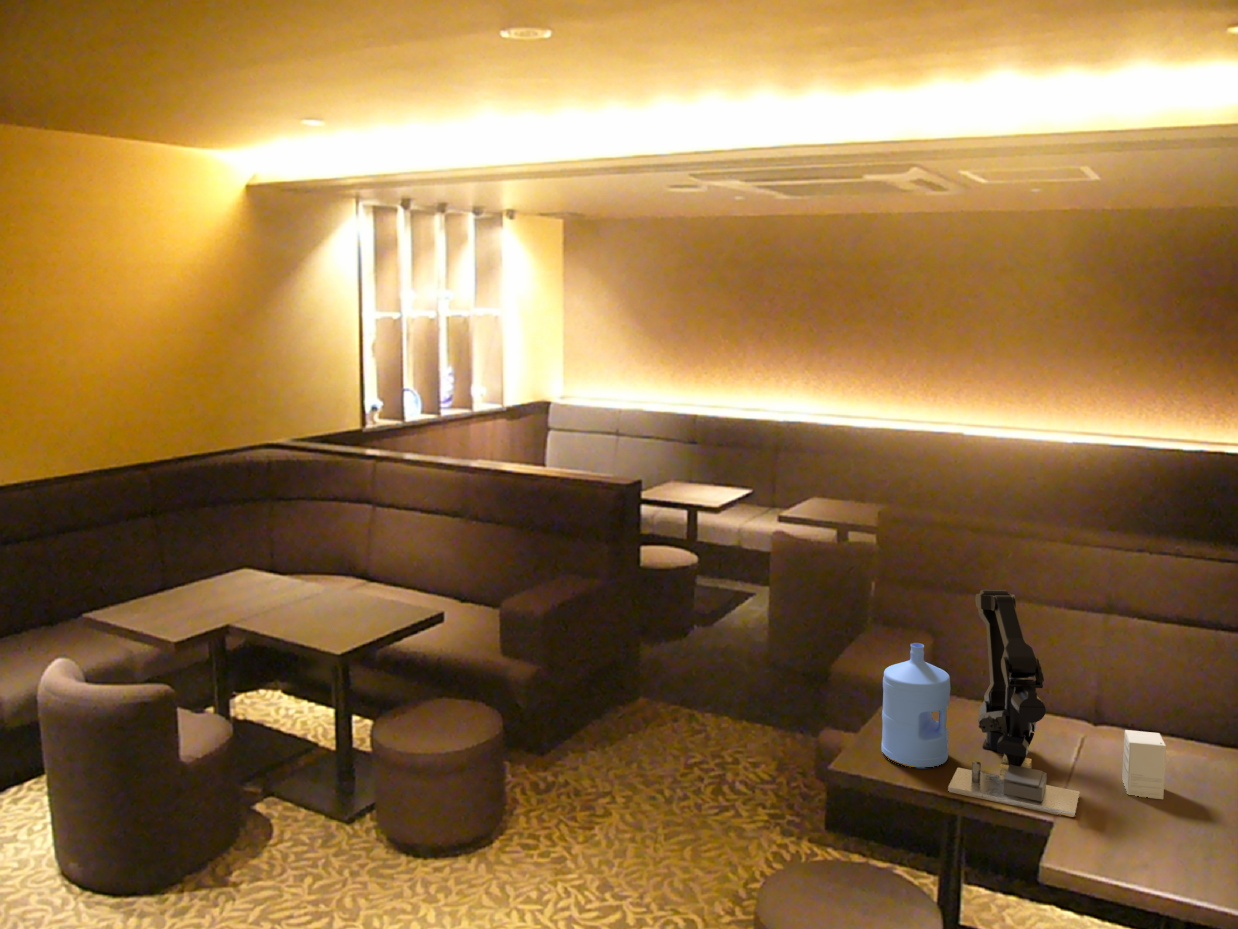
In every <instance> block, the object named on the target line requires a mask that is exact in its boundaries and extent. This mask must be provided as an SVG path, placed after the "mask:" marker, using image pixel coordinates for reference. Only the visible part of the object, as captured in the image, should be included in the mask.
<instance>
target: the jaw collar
mask: <svg viewBox="0 0 1238 929" xmlns="http://www.w3.org/2000/svg"><path fill="white" fill-rule="evenodd" d="M1032 761H1033V760H1032V758H1028V757H1026V758H1025V760H1024V762H1023V763H1022V765H1021V767H1025V768H1030V769H1032ZM1008 767H1009V764H1008V760H1007V756H1006V755H1005V754H1004V753H1003V757H1002V759H1001V761H1000V767H999V768H1000V769H999V776H1004V777H1005V775H1006V773H1007V770H1008Z"/></svg>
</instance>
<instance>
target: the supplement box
mask: <svg viewBox="0 0 1238 929" xmlns="http://www.w3.org/2000/svg"><path fill="white" fill-rule="evenodd" d="M1123 737H1124V741H1123V760H1122V761H1123V762H1122V776H1121V777H1122V780H1123V781H1122V780H1121V781H1122V784H1123V783H1124V784H1123V786H1125V787H1124V789H1126V790H1125V792H1126V791H1127V792H1126V795H1127V794H1129V795H1135V796H1134V797H1137V796H1139V797H1138V798H1146V797H1148V798H1149V799H1156V800H1164V796H1165V795H1164V794H1165V792H1164V790H1165V776H1166V761H1167V759H1166V758H1167V744H1166V743H1165V742H1164V739H1163V737H1162V735H1161V733H1160V732H1149V731H1142V730H1141V731H1139V730H1131V729H1130V730H1128V729H1124V736H1123Z"/></svg>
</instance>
